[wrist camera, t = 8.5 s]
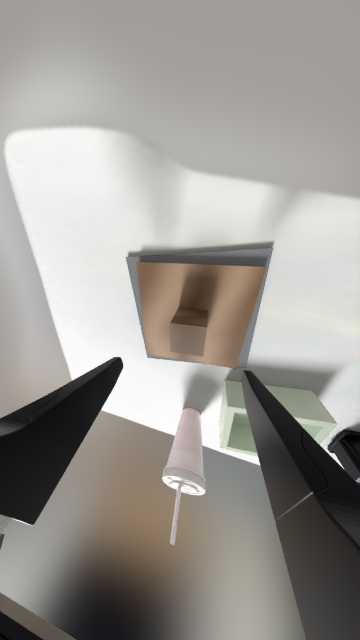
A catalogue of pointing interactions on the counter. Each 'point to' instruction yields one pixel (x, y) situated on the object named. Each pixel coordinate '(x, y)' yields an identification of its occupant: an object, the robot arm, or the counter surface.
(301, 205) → the counter surface
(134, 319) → the counter surface
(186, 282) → the lid
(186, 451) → the smoothie
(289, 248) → the counter surface
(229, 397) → the dish
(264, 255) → the mat
